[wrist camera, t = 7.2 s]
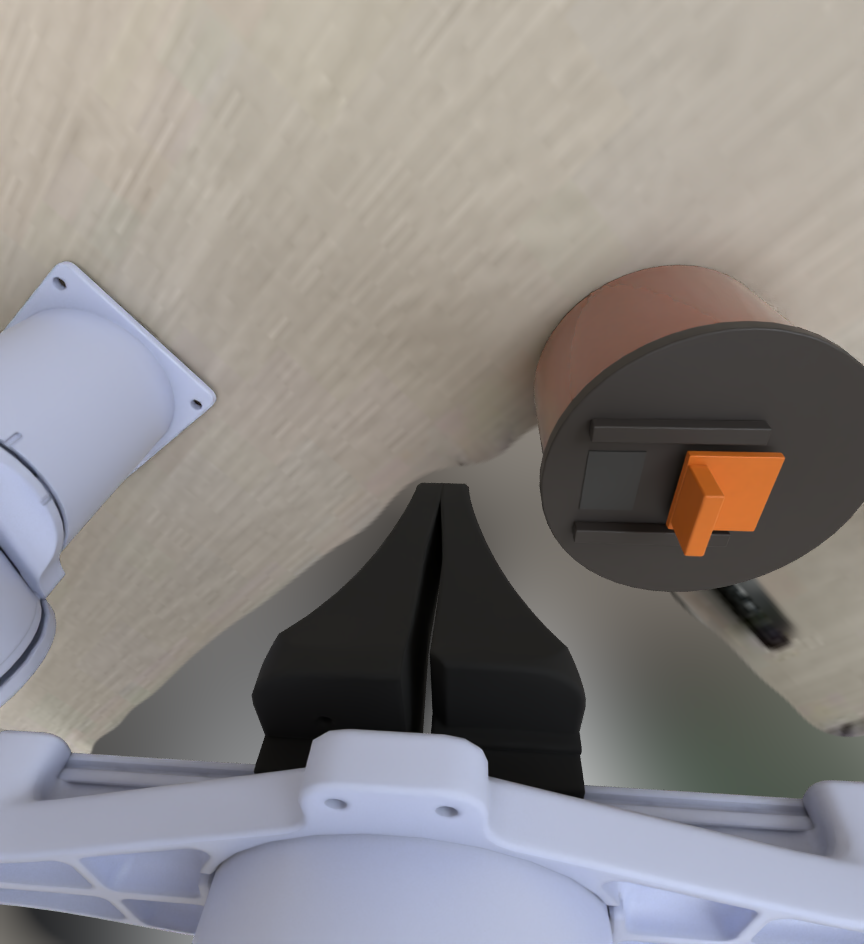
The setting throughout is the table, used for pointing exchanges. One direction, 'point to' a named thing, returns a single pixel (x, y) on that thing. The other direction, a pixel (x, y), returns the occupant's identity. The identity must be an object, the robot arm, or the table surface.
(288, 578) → the table surface
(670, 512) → the slider
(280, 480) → the table surface
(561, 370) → the lidded cup
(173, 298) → the table surface
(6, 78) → the table surface
